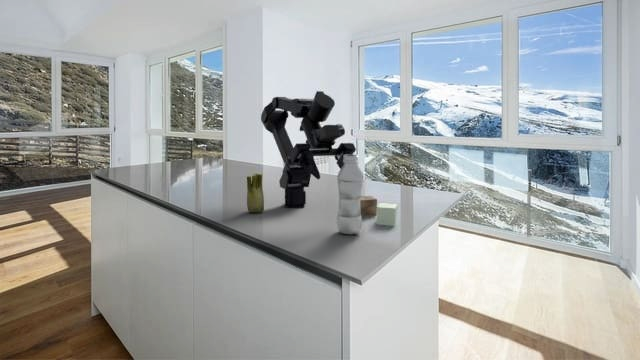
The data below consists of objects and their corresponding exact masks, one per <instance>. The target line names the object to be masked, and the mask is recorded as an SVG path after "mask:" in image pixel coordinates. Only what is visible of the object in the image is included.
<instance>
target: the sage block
mask: <svg viewBox="0 0 640 360" xmlns="http://www.w3.org/2000/svg"><path fill="white" fill-rule="evenodd" d="M397 211H398V203H383V202H379V203H378V204H377V215H376V225H381V226H390V227H392V226H393V227H395V226H396V223H397V214H398V212H397Z"/></svg>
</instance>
